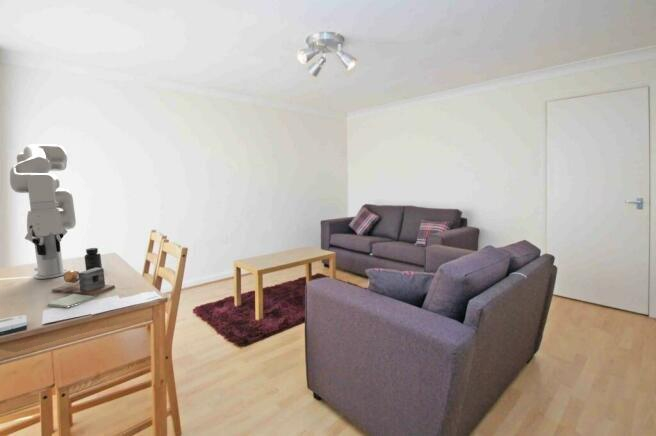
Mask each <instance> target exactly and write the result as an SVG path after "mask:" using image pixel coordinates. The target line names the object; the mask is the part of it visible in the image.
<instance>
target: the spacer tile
mask: <svg viewBox="0 0 656 436" xmlns="http://www.w3.org/2000/svg"><path fill="white" fill-rule="evenodd" d="M93 299H94V296H88V295H78V294H69V295H67V296H65V297H64V296H63V297H61V298H58V299H56V300H53V301H51V302H47V306H48V307H53V308H54V307H55V308H62V307H68V306H72V305H75V304H78V305H79V303H80V304H83V303H85V302H87V300H88V301H90V300H93ZM82 302H83V303H82ZM75 306H76V305H75Z"/></svg>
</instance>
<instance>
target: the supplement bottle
mask: <svg viewBox="0 0 656 436" xmlns="http://www.w3.org/2000/svg"><path fill="white" fill-rule="evenodd" d="M83 259H84V264H85V265H84V266H85V271H86V270H90V269H93V268H103V266H102V265H103V264H102V256H101V253H99V250H98V247H90V248H86V249H85V255H84V258H83Z"/></svg>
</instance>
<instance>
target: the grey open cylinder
mask: <svg viewBox="0 0 656 436" xmlns="http://www.w3.org/2000/svg"><path fill="white" fill-rule="evenodd" d="M43 245H45V250H46V255H42V260H52V259H56V258H57V249H56V241H55V235H54V234H53V233H50V234H49V235H48V236H45V237H44V240H43Z"/></svg>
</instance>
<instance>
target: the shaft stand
mask: <svg viewBox="0 0 656 436" xmlns="http://www.w3.org/2000/svg"><path fill="white" fill-rule="evenodd" d="M78 275H79V280H78V281H77V282H75V283H70V282H69V283H67V284H64V285H61V286H58V287H54V288H51V292H52V293H58V294H60V293H61V294H69V295H72V294H78V295H88V296H93V297H96V296H97V295H100V294H103V293H106V292H109V291H111V290H113V289H115V286H116V285H114V284H106V280H105V271H104V268H103V267H102V268H93V269H90V270H86V269H85V270H84V271H79V273H78ZM92 277H93V278H92Z"/></svg>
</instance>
